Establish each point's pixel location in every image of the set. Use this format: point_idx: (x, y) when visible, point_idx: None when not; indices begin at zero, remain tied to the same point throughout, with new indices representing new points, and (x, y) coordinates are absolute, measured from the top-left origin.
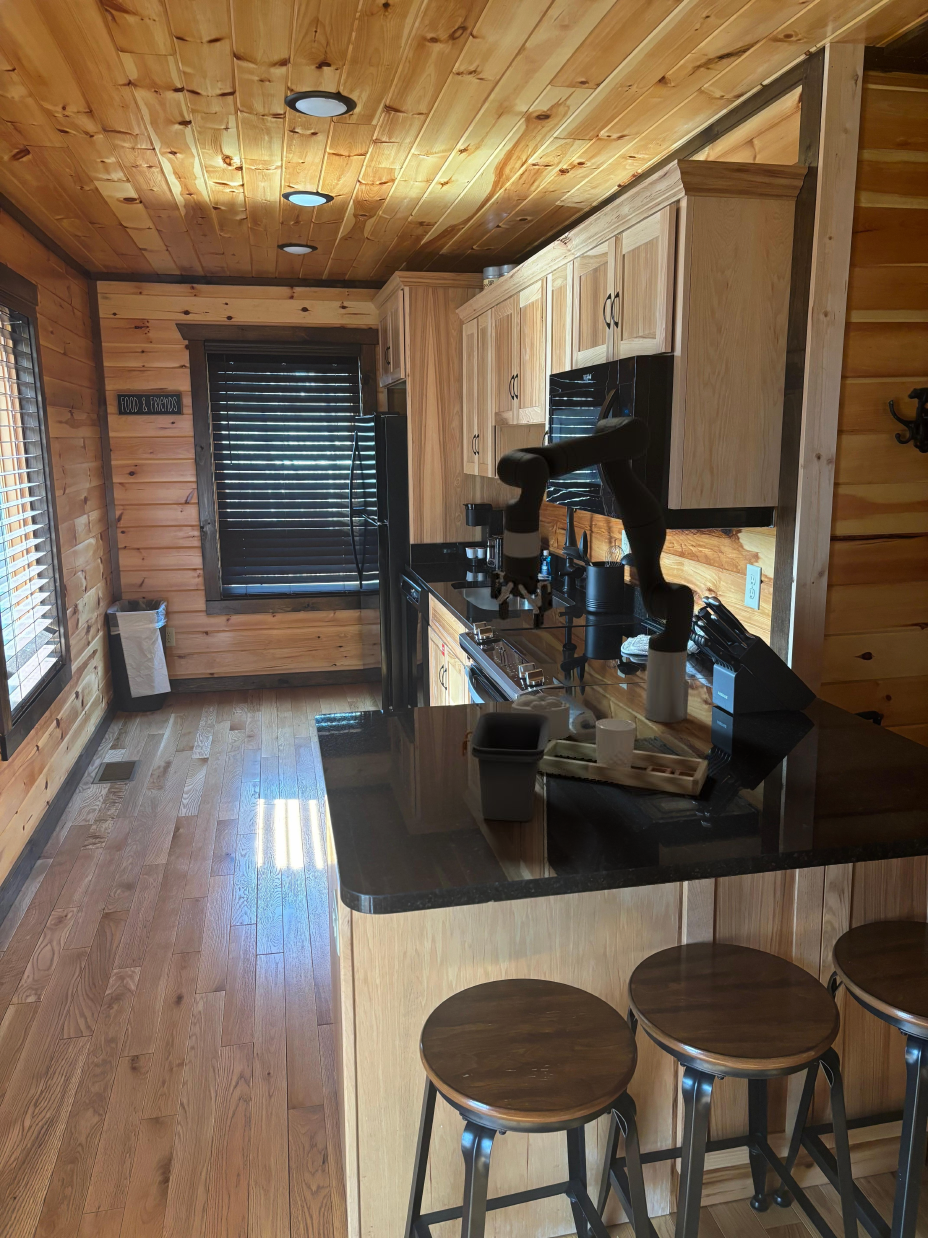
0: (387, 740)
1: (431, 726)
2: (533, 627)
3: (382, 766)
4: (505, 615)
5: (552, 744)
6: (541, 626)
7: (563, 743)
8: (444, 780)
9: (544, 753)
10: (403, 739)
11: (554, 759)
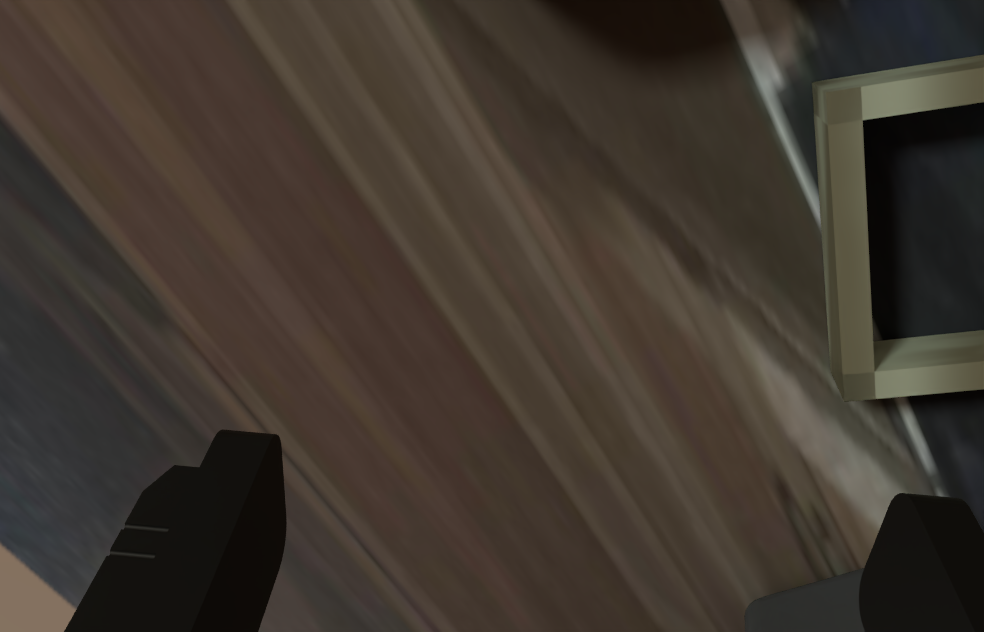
0: (67, 353)
1: (54, 60)
2: (864, 624)
3: (274, 601)
4: (264, 541)
5: (860, 183)
6: (955, 501)
7: (905, 112)
8: (550, 618)
9: (872, 332)
10: (105, 306)
11: (955, 390)
